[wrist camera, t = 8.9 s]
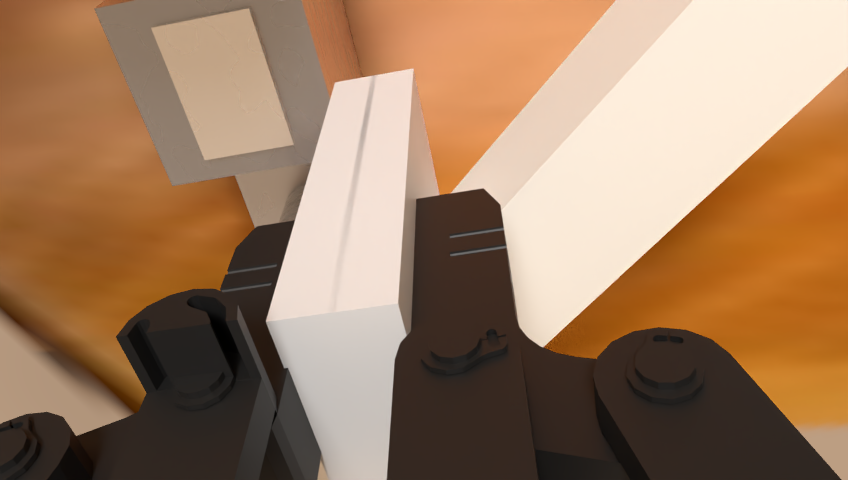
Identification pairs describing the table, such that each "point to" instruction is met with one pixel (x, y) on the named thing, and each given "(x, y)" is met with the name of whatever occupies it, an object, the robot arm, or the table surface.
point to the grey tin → (231, 78)
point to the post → (274, 193)
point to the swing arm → (644, 136)
